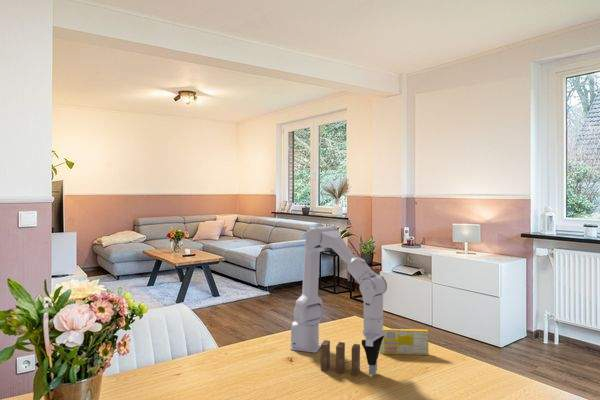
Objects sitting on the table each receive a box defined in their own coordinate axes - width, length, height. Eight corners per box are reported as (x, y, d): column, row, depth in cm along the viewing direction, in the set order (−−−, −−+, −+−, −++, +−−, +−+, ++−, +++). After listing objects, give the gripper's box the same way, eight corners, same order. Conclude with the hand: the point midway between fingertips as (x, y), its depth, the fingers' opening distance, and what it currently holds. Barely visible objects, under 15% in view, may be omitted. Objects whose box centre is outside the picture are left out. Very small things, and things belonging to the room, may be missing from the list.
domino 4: (368, 374, 122) (369, 347, 122) (371, 368, 126) (371, 342, 126) (375, 375, 121) (375, 348, 121) (377, 369, 125) (377, 343, 125)
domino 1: (320, 370, 127) (320, 344, 127) (324, 365, 131) (324, 340, 130) (326, 371, 126) (326, 345, 126) (329, 365, 130) (329, 340, 130)
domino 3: (351, 374, 124) (351, 348, 124) (354, 369, 128) (354, 343, 127) (357, 375, 123) (357, 349, 123) (359, 370, 127) (360, 344, 127)
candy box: (427, 353, 141) (427, 329, 140) (428, 355, 138) (428, 331, 138) (379, 351, 142) (379, 327, 142) (379, 353, 140) (379, 329, 140)
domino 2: (335, 372, 125) (336, 346, 125) (339, 367, 129) (339, 341, 129) (341, 373, 125) (341, 347, 125) (344, 368, 128) (344, 342, 128)
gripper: (383, 325, 115) (383, 373, 115) (389, 311, 129) (389, 354, 129) (358, 323, 117) (358, 370, 118) (367, 309, 131) (366, 351, 131)
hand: (372, 361), depth 124 cm, fingers closed on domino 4, 4 cm apart
